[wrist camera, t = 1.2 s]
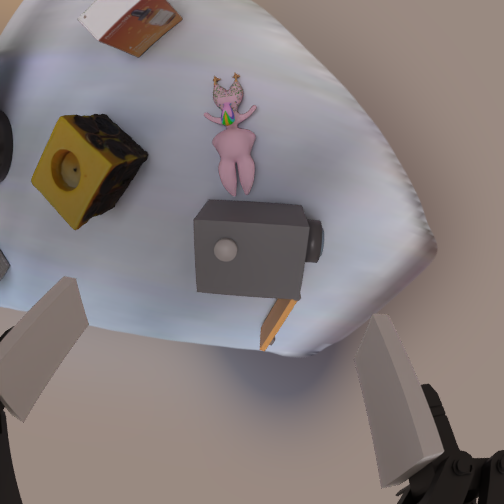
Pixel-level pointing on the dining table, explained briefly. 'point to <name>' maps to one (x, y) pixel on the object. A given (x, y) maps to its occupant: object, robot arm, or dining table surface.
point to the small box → (129, 23)
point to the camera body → (254, 248)
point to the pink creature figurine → (233, 138)
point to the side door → (275, 321)
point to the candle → (86, 167)
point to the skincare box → (3, 265)
